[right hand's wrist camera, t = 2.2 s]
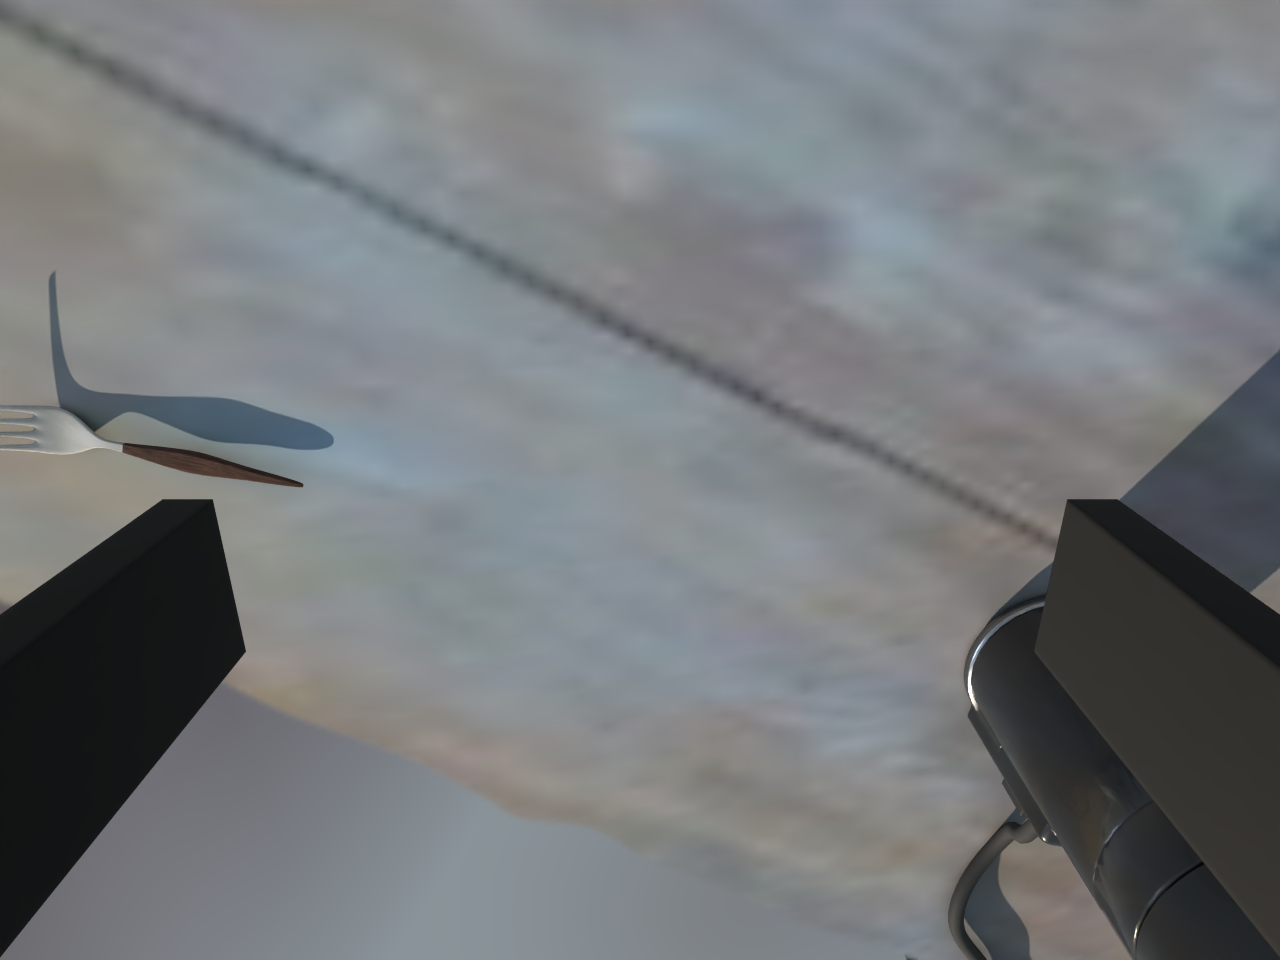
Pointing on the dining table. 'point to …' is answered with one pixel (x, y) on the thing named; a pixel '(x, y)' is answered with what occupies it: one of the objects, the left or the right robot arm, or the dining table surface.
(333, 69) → the dining table surface
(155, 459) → the fork
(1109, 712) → the right robot arm
